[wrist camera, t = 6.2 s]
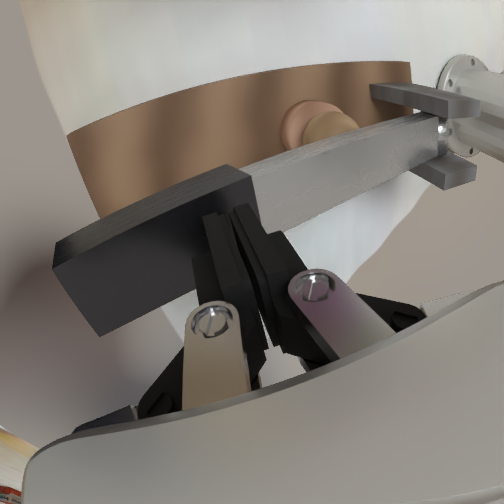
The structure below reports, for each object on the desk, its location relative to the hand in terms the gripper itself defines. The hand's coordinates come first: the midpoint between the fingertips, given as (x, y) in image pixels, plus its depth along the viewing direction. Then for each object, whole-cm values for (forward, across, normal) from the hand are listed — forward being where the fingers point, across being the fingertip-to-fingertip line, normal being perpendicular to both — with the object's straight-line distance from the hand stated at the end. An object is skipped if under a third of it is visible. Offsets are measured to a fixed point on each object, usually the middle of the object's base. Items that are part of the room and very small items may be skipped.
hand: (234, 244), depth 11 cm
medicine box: (+12, +124, +89) cm, 153 cm away
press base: (+13, -5, 0) cm, 14 cm away
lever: (+5, -5, 0) cm, 7 cm away
